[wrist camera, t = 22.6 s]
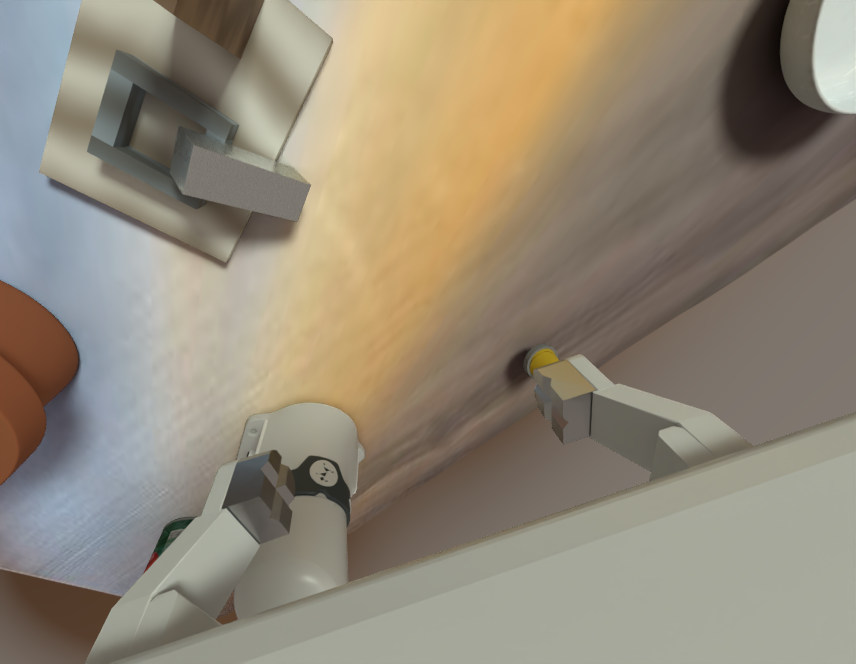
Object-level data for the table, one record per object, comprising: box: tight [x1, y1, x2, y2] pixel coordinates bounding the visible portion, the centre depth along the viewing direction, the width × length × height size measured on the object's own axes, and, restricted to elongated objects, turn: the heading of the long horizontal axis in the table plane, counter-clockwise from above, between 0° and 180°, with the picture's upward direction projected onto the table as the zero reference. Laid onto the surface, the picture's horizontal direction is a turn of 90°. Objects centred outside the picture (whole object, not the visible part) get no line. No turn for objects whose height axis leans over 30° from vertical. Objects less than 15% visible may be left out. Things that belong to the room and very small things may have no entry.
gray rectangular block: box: [170, 126, 311, 222], centre depth 32 cm, size 4×4×10 cm
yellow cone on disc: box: [523, 344, 559, 378], centre depth 51 cm, size 5×5×10 cm
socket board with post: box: [39, 0, 333, 262], centre depth 26 cm, size 24×16×16 cm, turn 145°
